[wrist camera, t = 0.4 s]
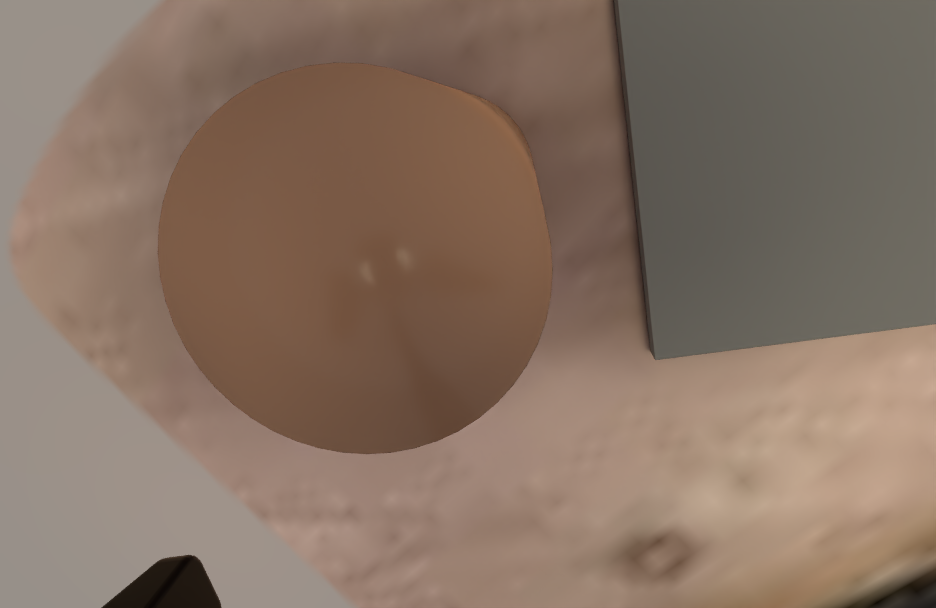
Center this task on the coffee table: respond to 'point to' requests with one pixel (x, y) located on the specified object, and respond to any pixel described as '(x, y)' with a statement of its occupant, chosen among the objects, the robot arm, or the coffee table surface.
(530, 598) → the coffee table surface
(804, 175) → the slate mat
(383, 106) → the tan domed cylinder
